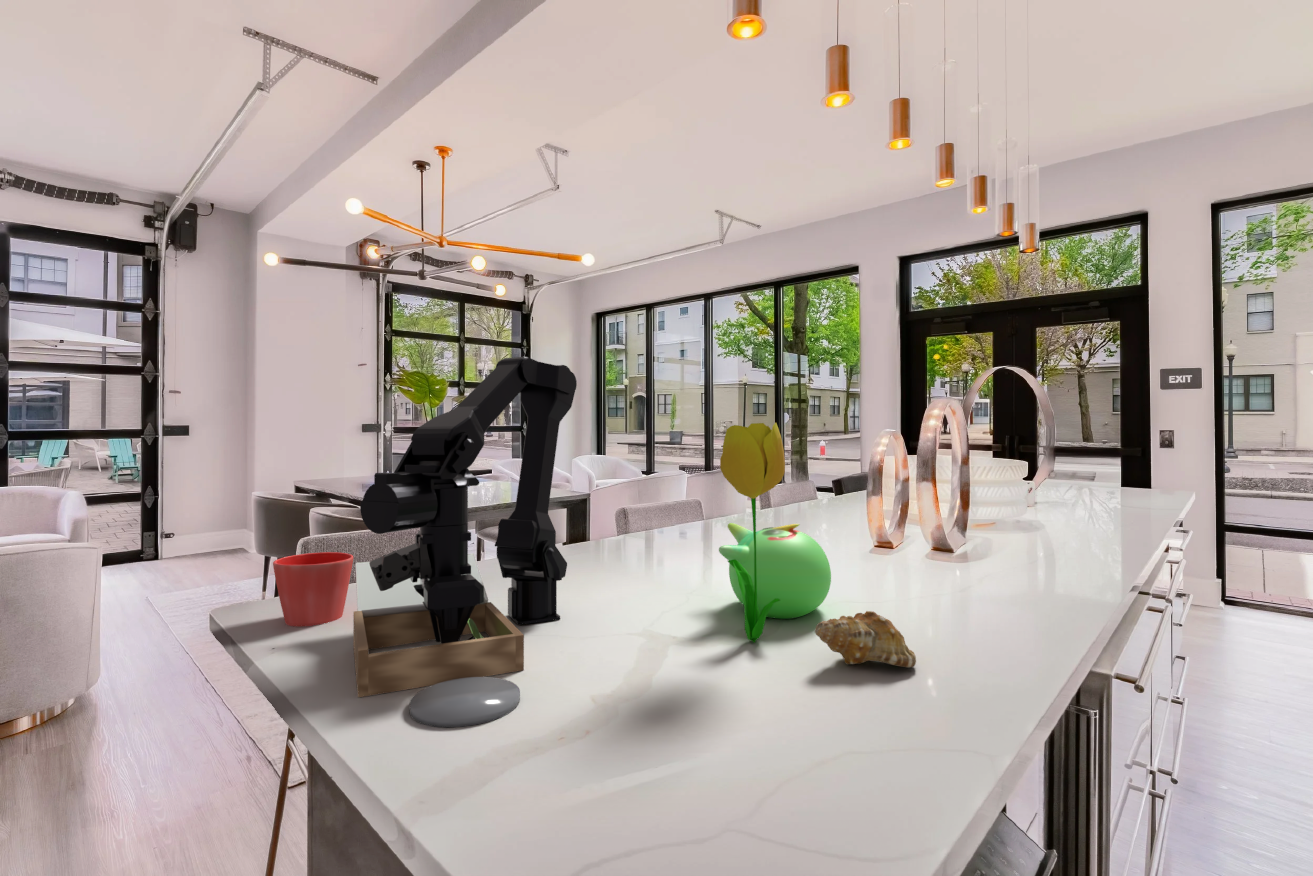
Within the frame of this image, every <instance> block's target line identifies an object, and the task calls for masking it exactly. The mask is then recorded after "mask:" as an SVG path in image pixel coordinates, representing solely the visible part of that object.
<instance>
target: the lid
mask: <svg viewBox="0 0 1313 876" xmlns="http://www.w3.org/2000/svg"><path fill="white" fill-rule="evenodd" d="M370 562H371V561H363V562H355V583H356V603H357V604H356V606H357V609H356V611H362V614H363V618H365V617H374V616H383V615H392V614H400V613H409V612H418V611H427V609H426V608H425V606H424V604H423V602H424V598H423V597H422V596H421V595H420V594H419V593H418V592H416V590H415V588H414V585H419V584H420V578H418V580H417V582H413V583H412V581H411V579H410V578H409V579H407V580H404V581H402V582H400V583H397V584H395V585H394V586H393V587H392V588H390V589H388V590H385V591H380V589H379V587H378V585H377V582H376V580H375V577H374V575H373V572H372V570H371V567H370V564H369V563H370ZM468 563H469V564H470V565H471V575H472V576H473V577H474V578H475V579H476V580H478V581H479V582H480V583H481V584H482V585H483V586H484V602H483V603H480V604H485V603H488V602H489V597H488V594H487V591H486V588H485V585H484V582H483V577H482V575H481V571H480V568H479V566H478V562H477V559H476V555H475V553H468ZM463 575H465V574H463ZM477 605H479V604H477Z"/></svg>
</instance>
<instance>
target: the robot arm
mask: <svg viewBox="0 0 1313 876" xmlns="http://www.w3.org/2000/svg"><path fill="white" fill-rule="evenodd" d="M577 383H578V382H577V378H576V376H575V373H573V371H571V369H570V367H568V366H567V365H565V364H560V365H558V364H551V363H547V362H541V361H537V360H535V359H533V358H530V357H528V356H517V357H515V356H514V357H504V358H502V359H501V360H499V361H497V363H496V365H495V368H494V369H493V370H492V371H491V372H489V374H487V376H486V377H485V378H484V379H483V380H482V381H480V383H479V384H478V385H477V386H475V388H473V390H472V391H471V392H470V393H469V394H468V395H467V396H466V397H465V398H464V399H463V400H462V401H461V402H460V403H459V404H458V405H456V406H455V407H454V408H453V409H451V410H450V411H449V410H448V411H447V412H445V413H442V414H439V415H437V416H434V417H432V418H431V419H429V420H428V421H426V422H425V423H423V424H421V425H420V426H419V427H417V428H416V429H415V430H414V432H413V433H412V436H411V439H410V440H411V442H410V444H409V446H408V447H407V449H406V451H405V452H404V454H403V456H402V457H401V459H400V461H399V463H398V464H397V467H396V468H395V470H394V471H393V472H375V474H374V475H373V477H374V479H373V480H374V482H373V484H372V485H370V486H369V487H368V488H367V490H366V491H365V493H364V495H363V498H362V501H361V502H360V509H359V510H360V515H361V519H362V521H363V523H364V525H365V526H366V528H367V529H368V530H369V531H370V532H372V533H375V534H377V535H381V534H389V533H395V532H401V531H407V530H413V529H418V528H419V530H417V533H415V539H414V541H415V542H414V543H413V544H411V545H408V546H404V547H401V548H399V549H397V550H396V549H395V550H393V551H392V552H389V553H387V554H383V555H382V556H379V557H377V558H375V559H373V560H371V561H369V562H370V563H369V564H370V567H371V570H372V572H373V575H374V577H375V580H376V582H377V585H378V587H379V589H380V591H385V590H388V589H390V588H392V587H393V586H394V585H395V584H397V583H400V582H402V581H404V580H407V579H409V578H410V579H411V581H412V583H413V582H417V580H418V578H420V584H419V585H414V588H415V590H416V592H418V593H419V594H420V595H421V596H422V597H423V598H424V602H423V604H424V606H425V608H426V609H427V610H429V613H430V618H431V622H432V626H433V631H434V635H435V639H434V640H435V642H436V643H440V644H444V643H451V642H459V641H460V639H461V637H462V636H463V635H462V633H463V630H464V628H465V626H466V624H467V622H468V620H469V618H470V616H471V614H472V611H473V609H474V607H475V606H476V605H477V604H480V603H483V602H484V588H485V585H484V586H483V585H482V584H481V583H480V582H479V581H478V580H476V579H475V578H474V577H473V576H472V575H471V565H470V564H469V563H468V554H469V549H468V547H469V542H472V532H471V531H469V530H468V529H469V528H468V527H469V520H468V519H469V518H468V517H469V500H468V499H469V498H468V497H469V491H468V490H469V489H468V488H469V487H476V486H479V485H480V479H478V478H477V477H476V476H475V475H473V473H471V471H470V470H469V468H470V467H471V466H472V465H473V464H474V462H475V461H476V459H477V457H478V456H479V454H480V452H481V451H482V449H483V448H484V445H485V433H486V432H487V430H488V429H489V428H490V426H491V425H492V424H493V423H494V421H496V419H497V418H498V417H500V415H501V414H502V413H503V412H504V411H505V410H506V409H507V408H508V406H509V405H510V404H511V403H512V401H513V400H514V399H515V398H517V396H518V395H519V394H520V399H519V401H520V403H521V406H522V408H523V410H524V413H525V414H526V417H527V423H526V428H525V436H524V442H523V444H524V445H523V450H522V457H521V466H520V472H519V479H518V485H517V492H516V500H515V507H514V509H513V511H512V513H511V514H510V515H509V517H507V518H500V521H499V522H498V525H497V526H498V527H497V529H498V530H497V537H496V540H495V543H494V547H496V559H497V561H498V565H499V568H500V573H501V577H502V578H503V579H507V578H508V579H509V578H510V579H511V581H510V582H511V584H510V587H508V588H507V615H508V617H510V619H511V620H513V621H514V623H516V624H517V625H519V626H520V625H528V624H529V625H530V624H534V623H535V624H536V623H545V622H551V621H557V620H561V615H560V614H559V613H557V612H558V611H557V603H558V602H557V589H558V588H557V585H558V584H557V582H559V581H562V579H563V578H565V577H566V573H567V567H568V562H567V561H566V559H565V558H564V557H563V554H562V553H561V552H560V550H559V548H557V546H556V545H557V544H556V541H557V540H556V538H557V536H556V534H557V533H556V529H555V527H554V524H553V521H552V520H551V517H550V515H549V508H550V507H549V506H550V501H551V500H550V499H551V492H552V482H553V475H554V467H555V460H556V452H557V445H558V437H559V427H560V424H561V422H562V420H563V419H564V417H565V416H566V415H567V414H568V412H569V411H570V410H571V409H572V406H573V402H574V397H575V392H576V390H577V386H578V385H577ZM463 574H465V575H463Z"/></svg>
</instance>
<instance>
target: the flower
mask: <svg viewBox="0 0 1313 876" xmlns="http://www.w3.org/2000/svg"><path fill="white" fill-rule="evenodd" d="M719 461H720V463H719V464H720V465H719V466H720V468H719V469H720V472H721V474H722V475H723V476H722V477H724V478H725V479H726V481H727V482H728V483H729V484H730V485H731V486H732V487H733V488H734V489H735V490H736V492H737V493H738V494H741V495H742V496H745V497H748V498H750V501H751V513H752V531H753V534H754V585H753V582H752V579H751V576H750V575H749V574H748V572H747V571H746V570H745V569H744V567H743V566H742V565H741V564H740V563H739V562H738V561H737V560H736V559H735V560H727V562H728V564H729V563H730V564H731V565H732V566H733V567H734V568H735V570H736V573H737V576H738V582H739V586H740V589H741V592H742V596H743V600H744V605H743V607H744V608H743V609H744V632H745V634H746V637H747V638H746V639H747V640H748V641H751V642H753V644H754V643H756V642H757V640H758V639H760V638H761V636H762V634H763V631H764V628H765V624H766V619H767V618H768V617H767V614H768V612H769V610H770V608H771V607H772V606H773V604H774V603H775V602H778V601H780V599H778V598H777V599H776V598H775V599H774V600H772V601H771V602H770V603H768V604H767V605H766V606H764V608H763V609H762V611H761V613H760V612H759V609H758V605H757V571H756V532H757V518H756V517H757V511H756V510H757V509H756V508H757V505H756V504H757V498H758V497H759V496H761V495H763V494H765V493H767V492H769V491H771V490H772V489H774V488H776V486H777V485H778V484H780V482H782V481H783V480H782V479H783V477H784V475H785V472H786V471H785V470H786V459H785V449H784V444H783V439H782V435H781V433H780V429H779V427H778V424H777V422H774V424H773V425H772V428H771V427H769V425H766V424H765V423H764V422H757V423H750V425H748V426H747V427H746V426H743V425H736V424H733V425H731V426H729V427H727V428H726V432H725V434H724V439H723V444H722V454H721V456H720V459H719Z"/></svg>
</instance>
